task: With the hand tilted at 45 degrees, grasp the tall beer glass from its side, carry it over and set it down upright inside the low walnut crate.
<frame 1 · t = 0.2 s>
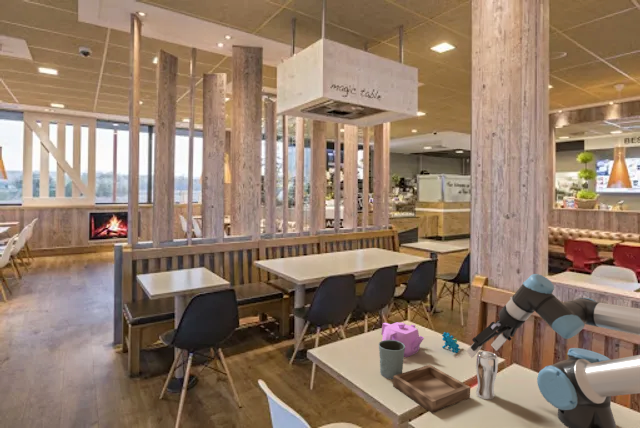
hand: (482, 350, 135), 15 cm above the table, tool tilted 35°, fingers open, 13 cm apart
walnut crate: (430, 391, 135), on the table
teal spiky toy: (450, 350, 171), on the table
grey green cup: (390, 374, 147), on the table
beer glass: (485, 395, 133), on the table
teakettle: (402, 350, 170), on the table
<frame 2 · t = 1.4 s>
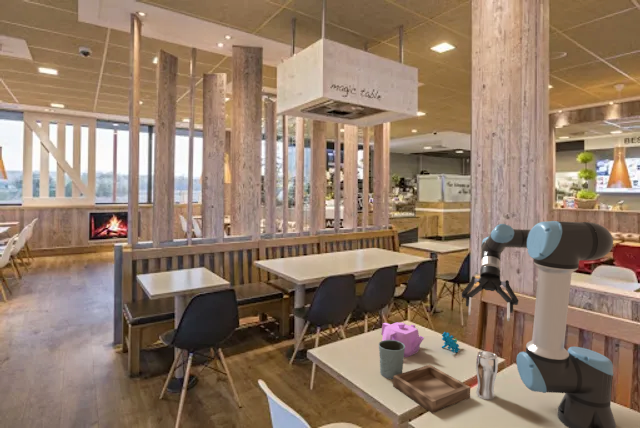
hand: (488, 316, 141), 26 cm above the table, tool tilted 45°, fingers open, 13 cm apart
nothing on the table moved.
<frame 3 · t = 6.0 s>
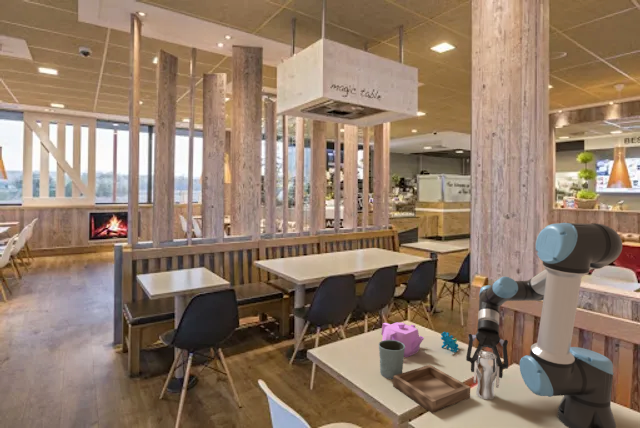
hand: (485, 383, 130), 6 cm above the table, tool tilted 45°, fingers closed on beer glass, 7 cm apart
beer glass: (485, 395, 133), on the table, touching gripper
everything else where it was.
when the fingers open (8 cm above the table, at t = 11.9 s): beer glass drops 1 cm, resting on walnut crate.
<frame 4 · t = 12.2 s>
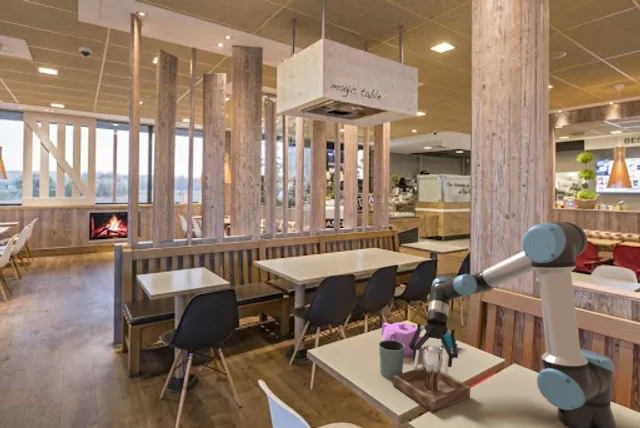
hand: (430, 371, 131), 9 cm above the table, tool tilted 45°, fingers open, 10 cm apart
beer glass: (431, 389, 135), point 1 cm above the table, touching walnut crate
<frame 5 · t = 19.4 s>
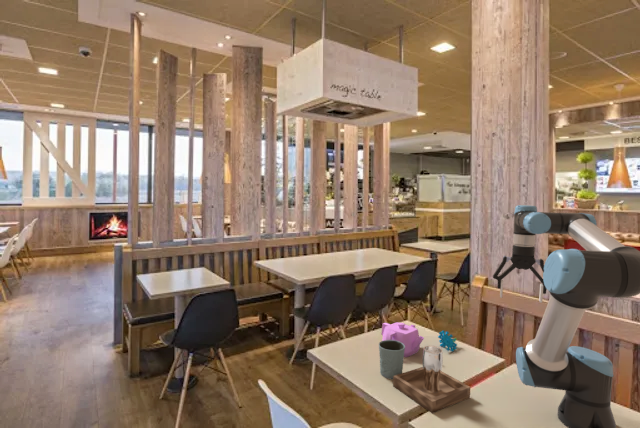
hand: (520, 299, 144), 32 cm above the table, tool pointing down, fingers open, 13 cm apart
at the end: beer glass inside the target area on the walnut crate (0.1 cm from its centre), point 0.8 cm above the walnut crate's base; beer glass tilted 0°; the gripper is holding nothing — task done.
